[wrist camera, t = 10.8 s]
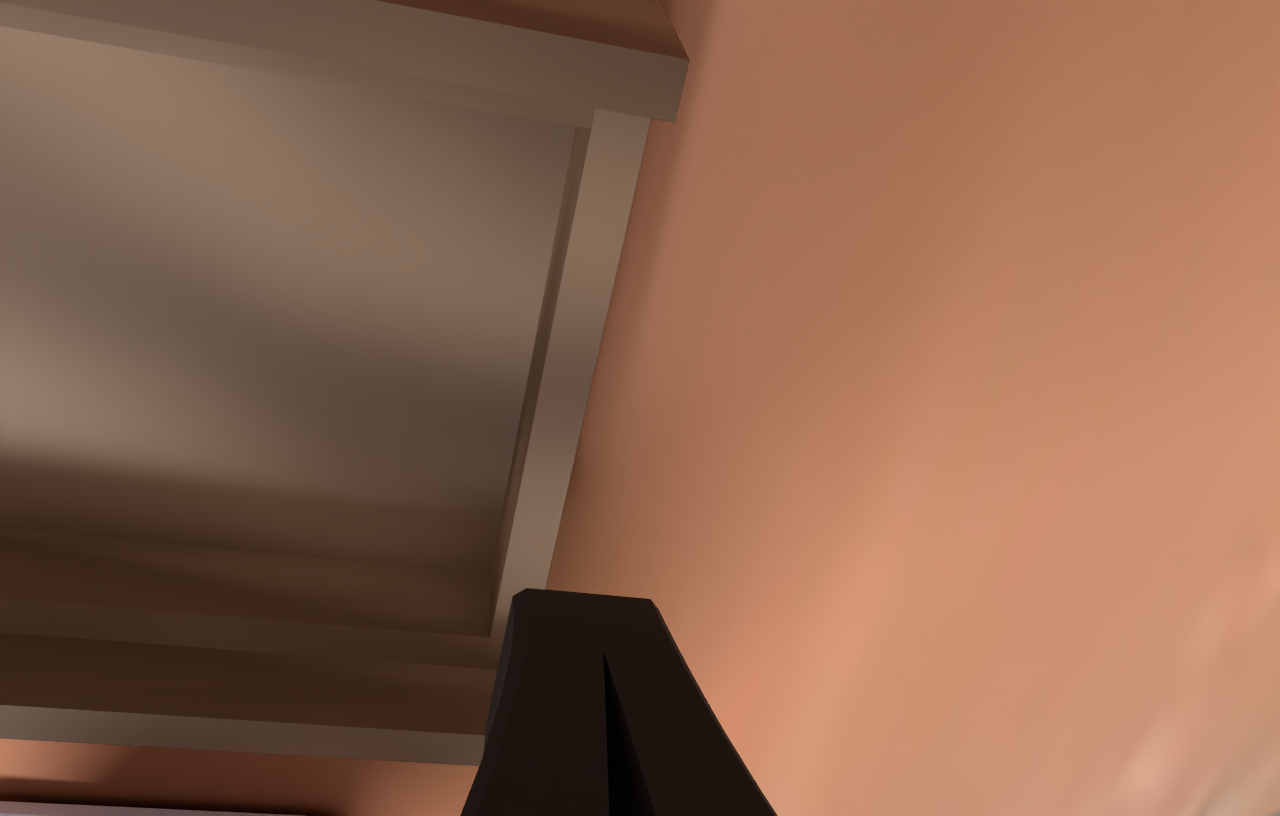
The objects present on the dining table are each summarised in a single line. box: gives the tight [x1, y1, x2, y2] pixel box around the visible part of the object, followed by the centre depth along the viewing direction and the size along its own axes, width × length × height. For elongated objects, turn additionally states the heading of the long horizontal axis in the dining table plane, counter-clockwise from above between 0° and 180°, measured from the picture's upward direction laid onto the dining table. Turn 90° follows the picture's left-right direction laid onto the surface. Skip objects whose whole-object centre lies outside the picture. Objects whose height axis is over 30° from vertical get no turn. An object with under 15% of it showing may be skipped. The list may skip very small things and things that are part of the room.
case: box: [0, 0, 689, 766], centre depth 17 cm, size 13×16×4 cm
